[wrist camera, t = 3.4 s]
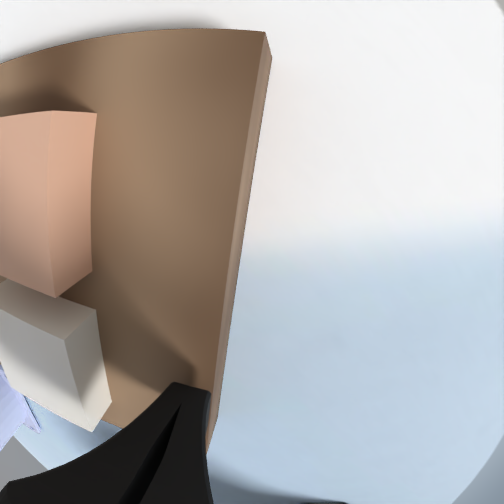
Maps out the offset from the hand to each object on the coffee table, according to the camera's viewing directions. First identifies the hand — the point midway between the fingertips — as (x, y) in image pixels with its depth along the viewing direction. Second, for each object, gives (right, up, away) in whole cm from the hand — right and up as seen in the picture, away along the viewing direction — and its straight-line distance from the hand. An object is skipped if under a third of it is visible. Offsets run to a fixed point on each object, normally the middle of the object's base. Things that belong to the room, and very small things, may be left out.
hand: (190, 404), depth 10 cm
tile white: (-6, +1, +1) cm, 6 cm away
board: (-5, +5, +2) cm, 8 cm away
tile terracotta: (-5, +7, -1) cm, 9 cm away
